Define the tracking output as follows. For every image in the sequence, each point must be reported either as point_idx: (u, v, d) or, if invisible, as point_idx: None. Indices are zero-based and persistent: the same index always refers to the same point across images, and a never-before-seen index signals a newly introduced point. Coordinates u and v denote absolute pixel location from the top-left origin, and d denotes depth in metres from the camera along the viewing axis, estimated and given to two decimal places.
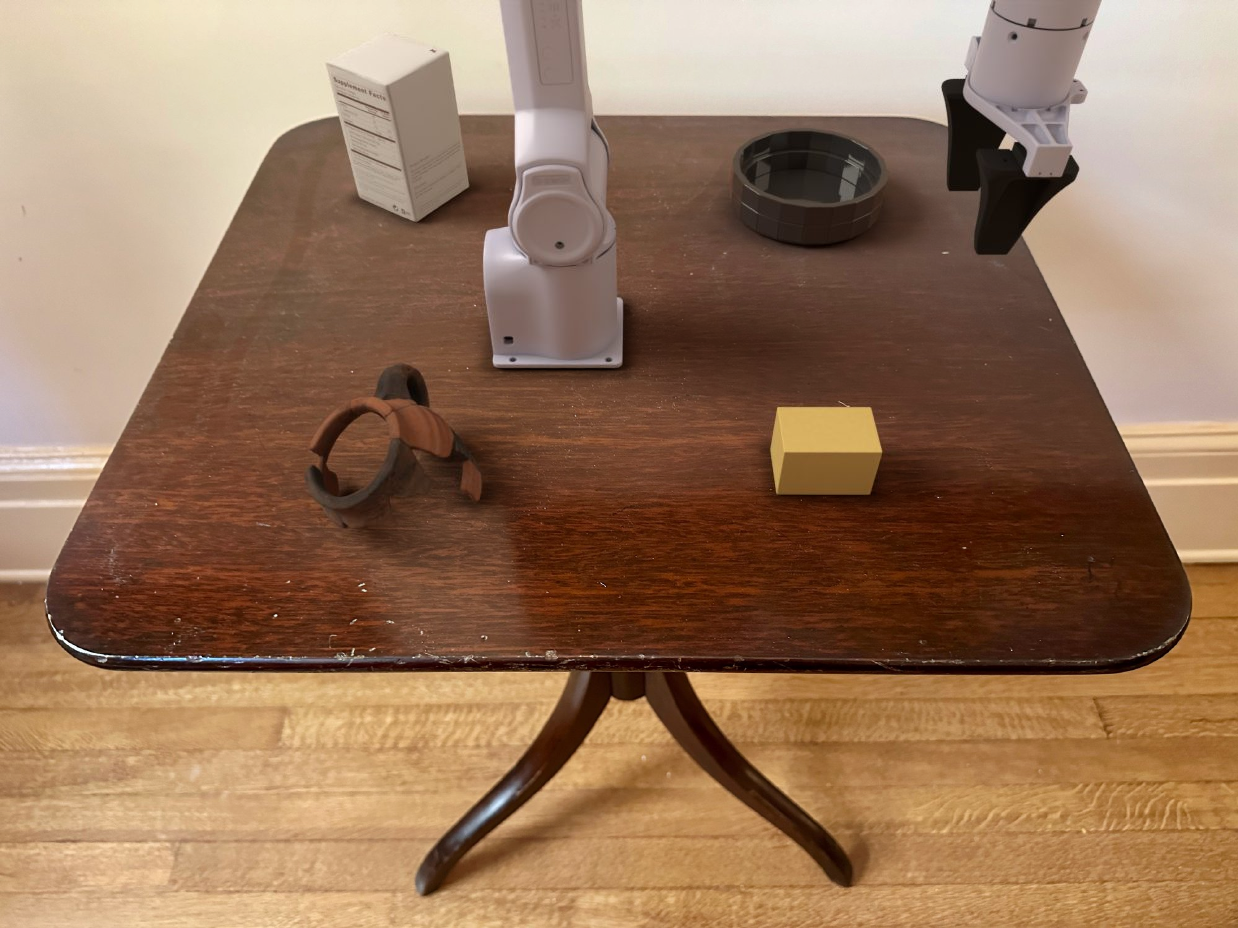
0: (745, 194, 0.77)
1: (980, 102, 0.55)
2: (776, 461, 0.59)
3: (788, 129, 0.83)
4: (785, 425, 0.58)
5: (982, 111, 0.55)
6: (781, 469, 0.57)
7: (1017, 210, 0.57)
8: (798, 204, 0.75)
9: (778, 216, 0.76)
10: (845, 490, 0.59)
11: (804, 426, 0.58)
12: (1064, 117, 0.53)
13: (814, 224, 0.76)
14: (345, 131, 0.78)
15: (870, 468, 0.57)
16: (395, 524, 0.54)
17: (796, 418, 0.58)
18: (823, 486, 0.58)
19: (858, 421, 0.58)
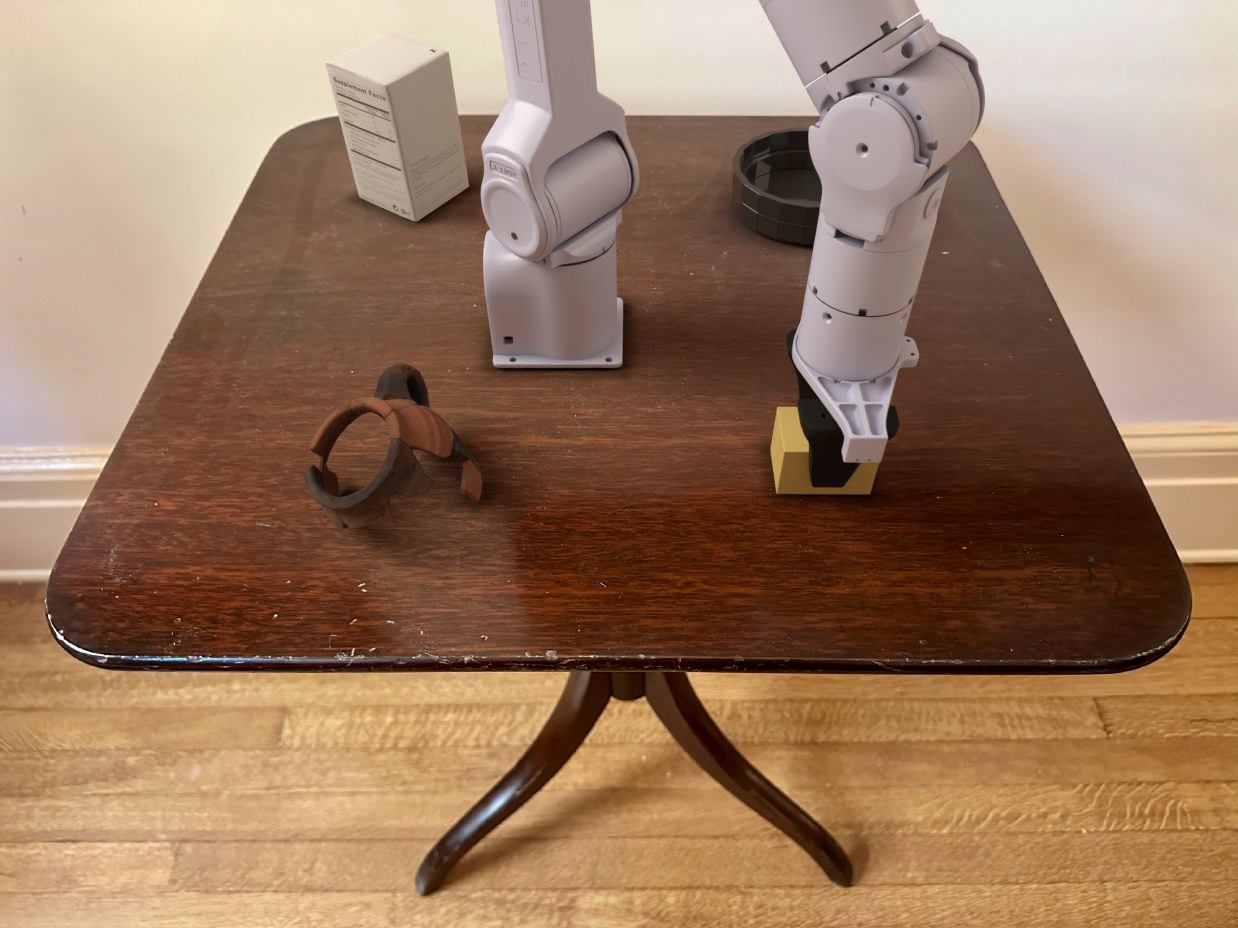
0: (745, 194, 0.77)
1: (804, 369, 0.52)
2: (776, 461, 0.59)
3: (788, 129, 0.83)
4: (785, 425, 0.58)
5: (806, 378, 0.52)
6: (781, 469, 0.57)
7: None
8: (798, 204, 0.75)
9: (778, 216, 0.76)
10: (845, 490, 0.59)
11: None
12: (888, 392, 0.50)
13: (814, 224, 0.76)
14: (345, 131, 0.78)
15: (870, 467, 0.57)
16: (395, 524, 0.54)
17: (796, 418, 0.58)
18: None
19: None
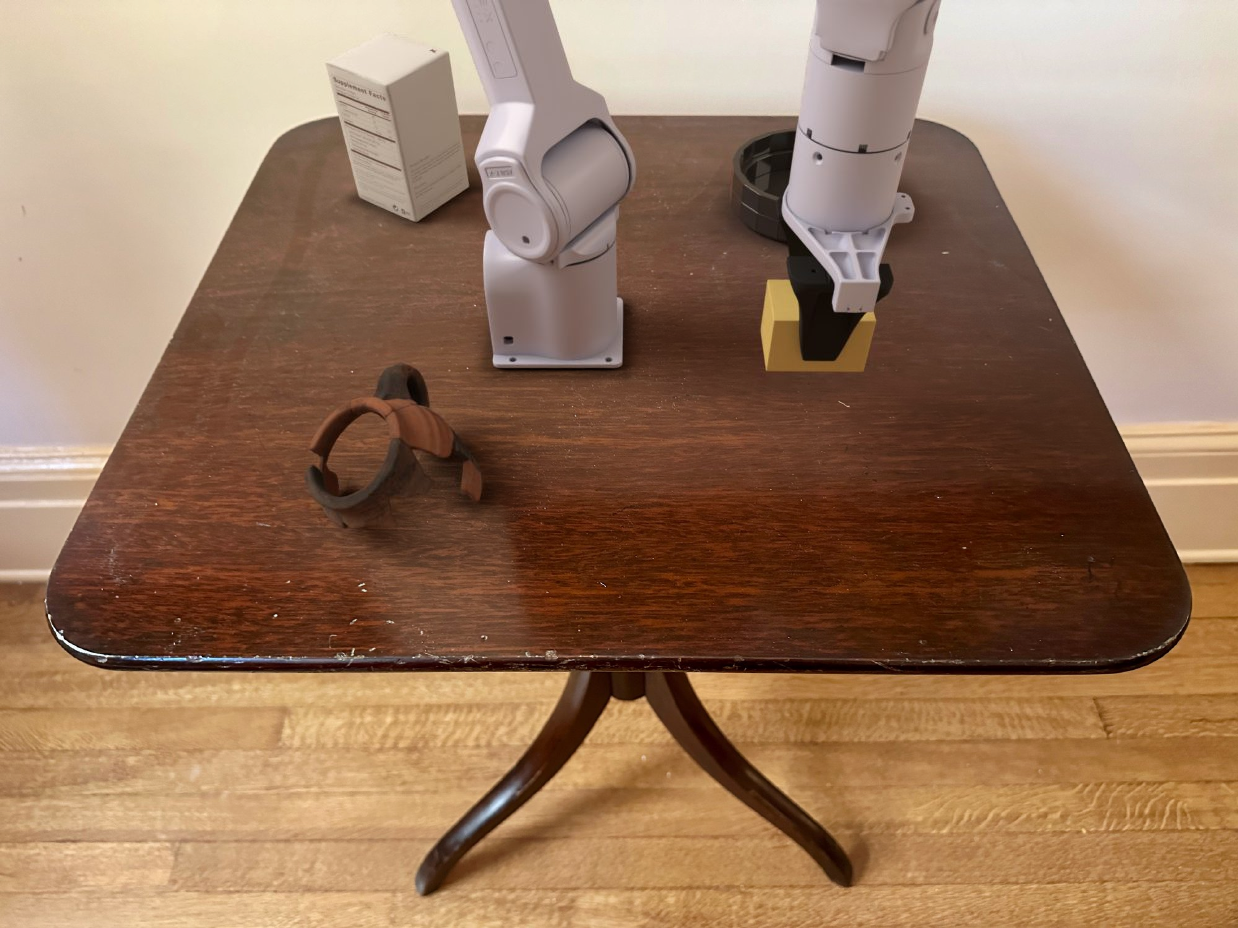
0: (745, 194, 0.77)
1: (794, 222, 0.49)
2: (766, 337, 0.57)
3: (788, 129, 0.83)
4: (775, 296, 0.55)
5: (796, 232, 0.49)
6: (771, 341, 0.55)
7: (838, 318, 0.53)
8: None
9: None
10: (838, 367, 0.56)
11: (795, 297, 0.55)
12: (881, 242, 0.48)
13: None
14: (345, 131, 0.78)
15: (863, 340, 0.55)
16: (395, 524, 0.54)
17: (787, 290, 0.56)
18: (815, 361, 0.56)
19: None
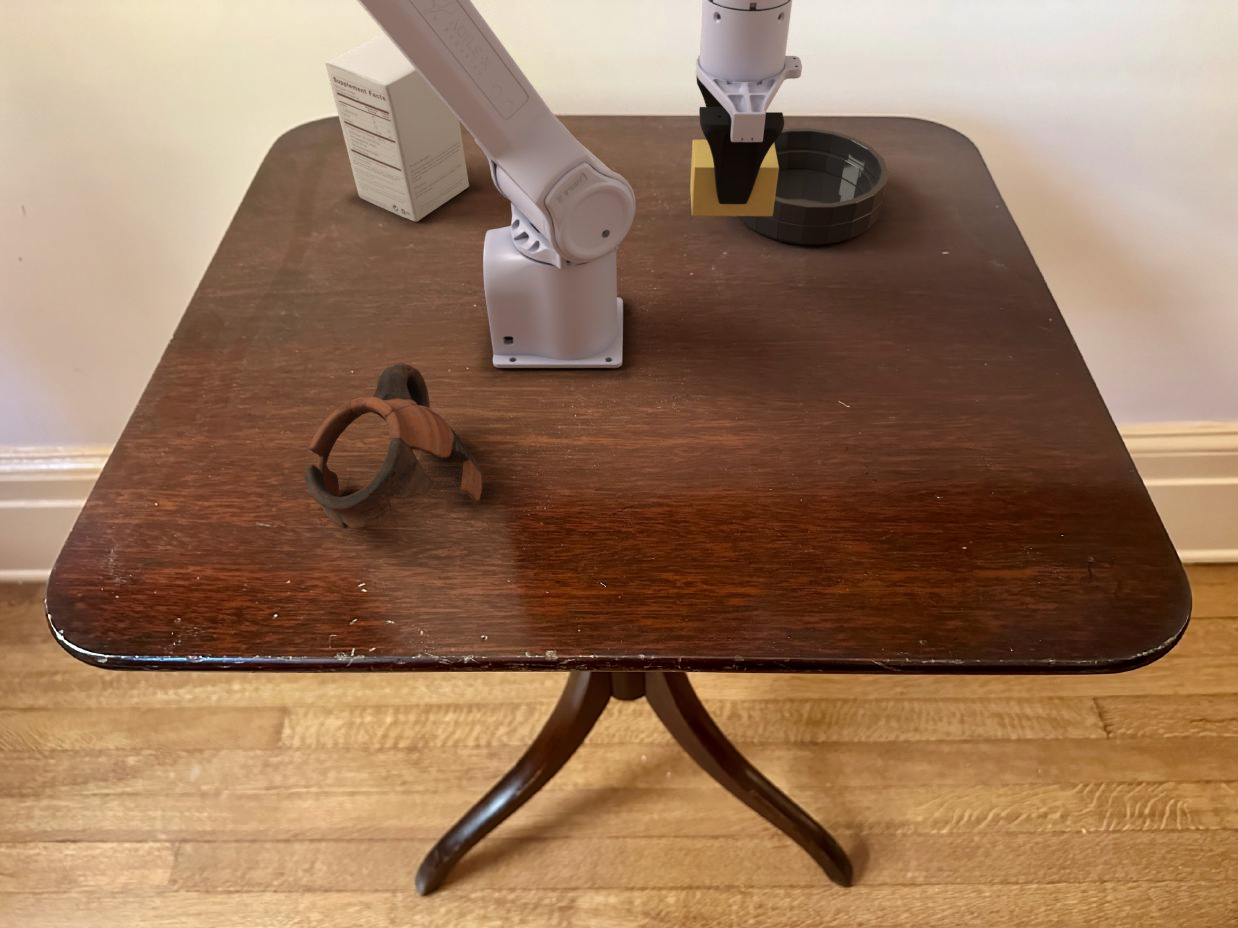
0: None
1: (703, 76, 0.61)
2: None
3: (788, 129, 0.83)
4: (697, 151, 0.67)
5: (705, 84, 0.61)
6: (693, 187, 0.67)
7: (744, 162, 0.64)
8: (798, 204, 0.75)
9: (778, 216, 0.76)
10: (751, 211, 0.68)
11: None
12: None
13: (814, 224, 0.76)
14: (345, 131, 0.78)
15: (770, 185, 0.66)
16: (395, 524, 0.54)
17: (708, 146, 0.67)
18: (731, 206, 0.68)
19: None
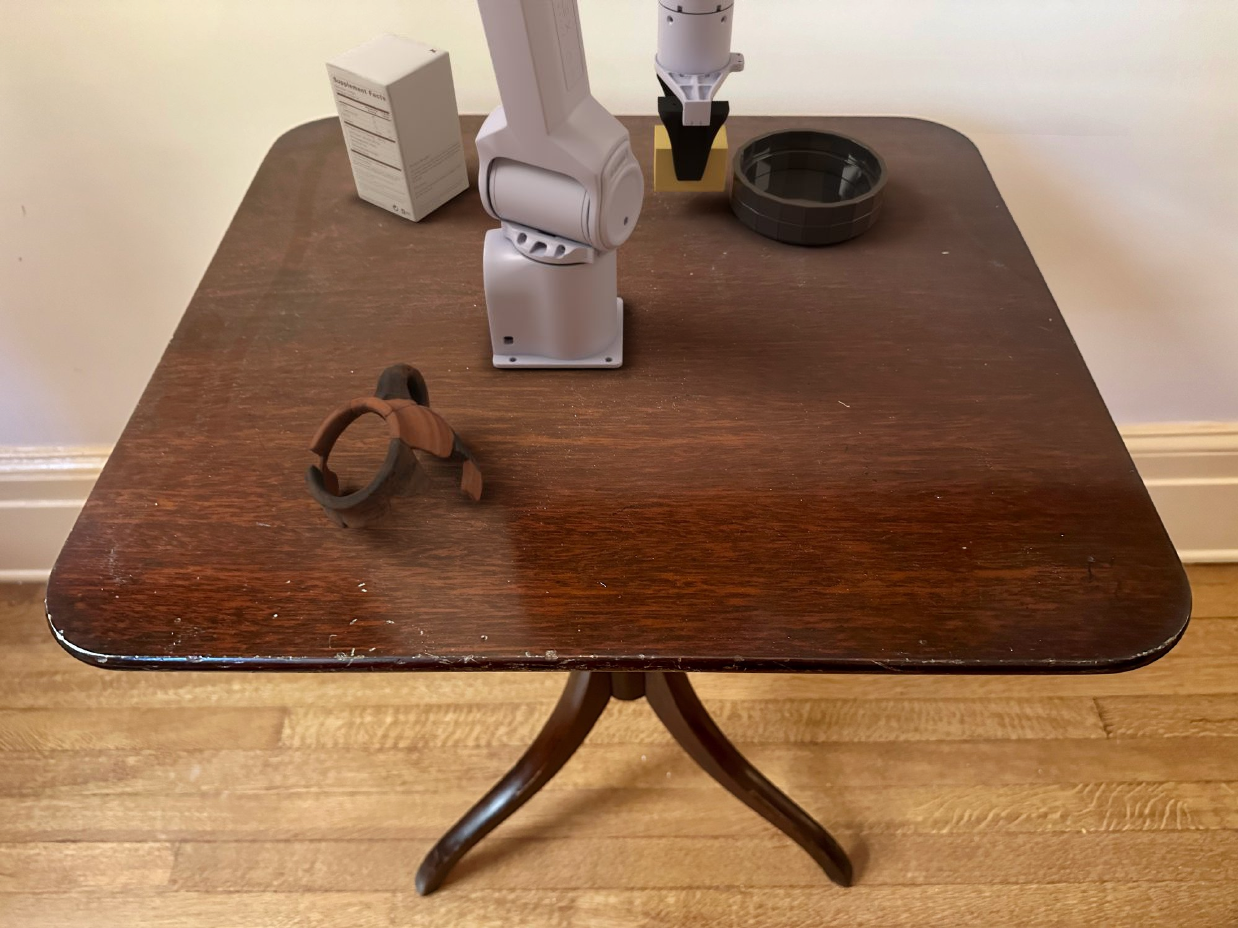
0: (745, 194, 0.77)
1: (660, 70, 0.71)
2: None
3: (788, 129, 0.83)
4: (658, 134, 0.78)
5: (661, 77, 0.72)
6: (655, 166, 0.77)
7: (697, 144, 0.75)
8: (798, 204, 0.75)
9: (778, 216, 0.76)
10: (705, 187, 0.79)
11: None
12: None
13: (814, 224, 0.76)
14: (345, 131, 0.78)
15: (721, 164, 0.77)
16: (395, 524, 0.54)
17: None
18: (688, 183, 0.78)
19: None
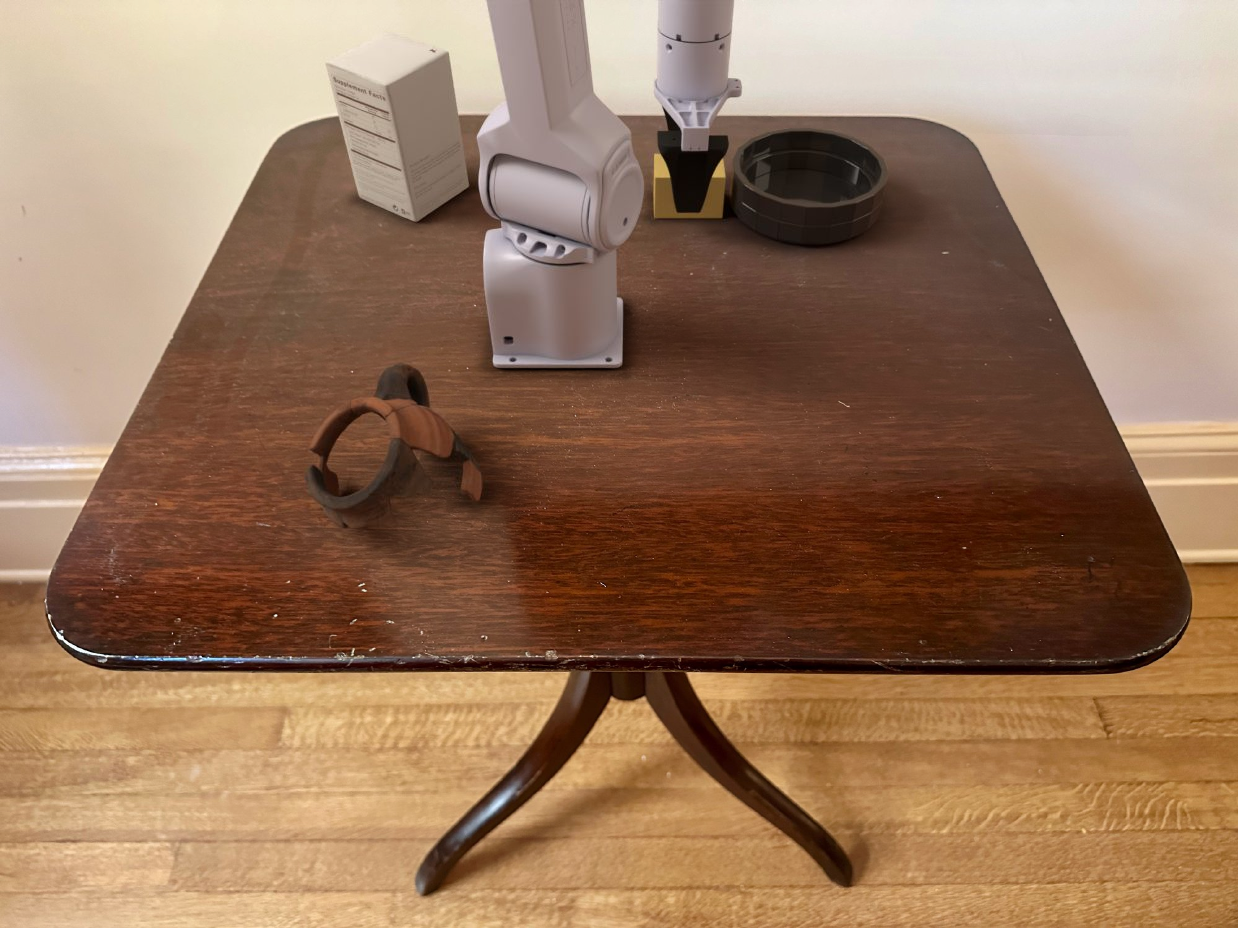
0: (745, 194, 0.77)
1: (659, 96, 0.73)
2: None
3: (788, 129, 0.83)
4: (658, 163, 0.79)
5: (661, 103, 0.73)
6: (655, 194, 0.79)
7: (697, 177, 0.75)
8: (798, 204, 0.75)
9: (778, 216, 0.76)
10: (704, 214, 0.80)
11: None
12: None
13: (814, 224, 0.76)
14: (345, 131, 0.78)
15: (719, 192, 0.79)
16: (395, 524, 0.54)
17: None
18: None
19: None
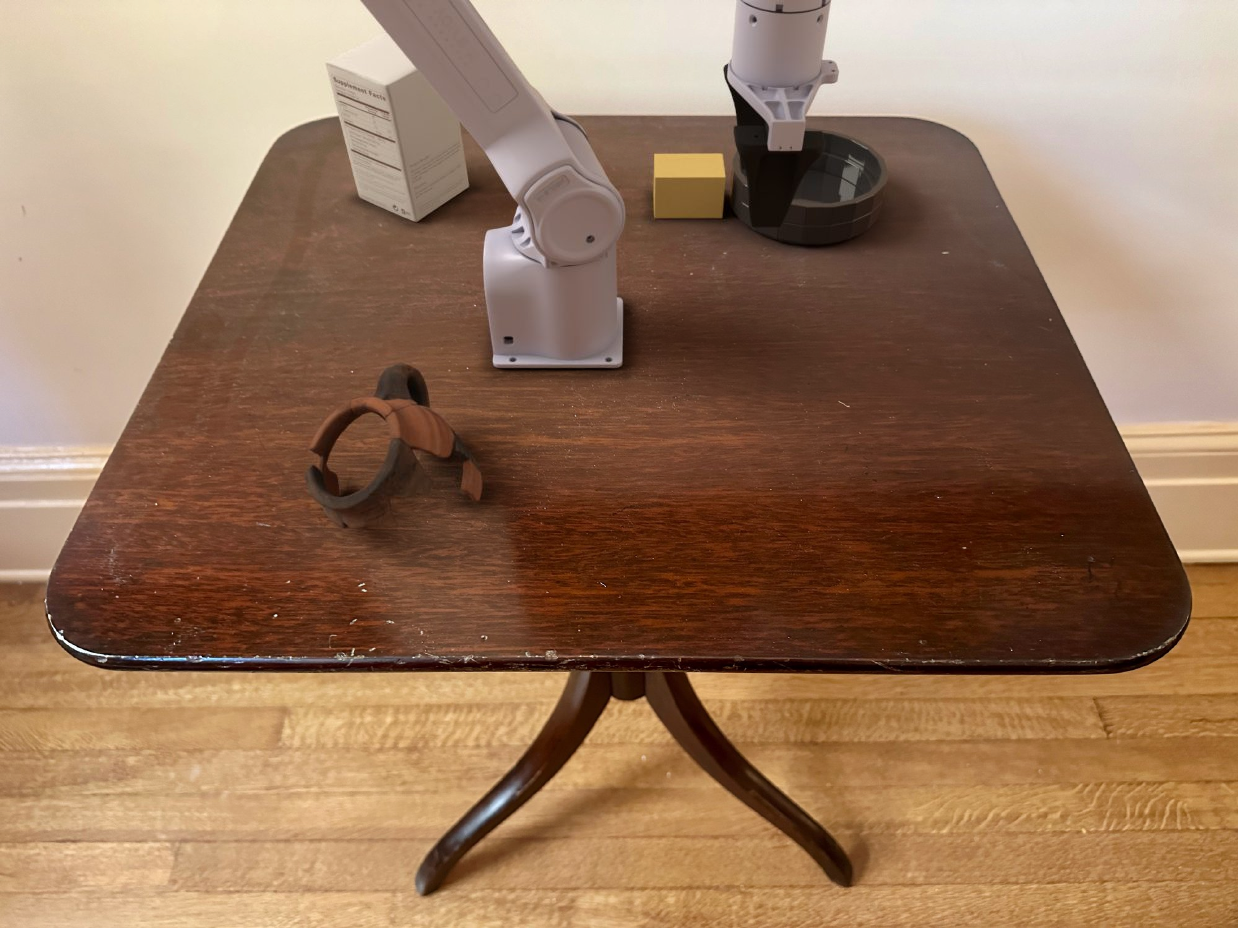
0: (745, 194, 0.77)
1: (736, 82, 0.58)
2: None
3: None
4: (658, 163, 0.79)
5: (738, 90, 0.58)
6: (655, 194, 0.79)
7: (781, 184, 0.60)
8: (798, 204, 0.75)
9: None
10: (704, 214, 0.80)
11: (672, 163, 0.79)
12: (809, 95, 0.57)
13: (814, 224, 0.76)
14: (345, 131, 0.78)
15: (719, 192, 0.79)
16: (395, 524, 0.54)
17: (667, 159, 0.80)
18: (687, 210, 0.80)
19: (711, 161, 0.80)
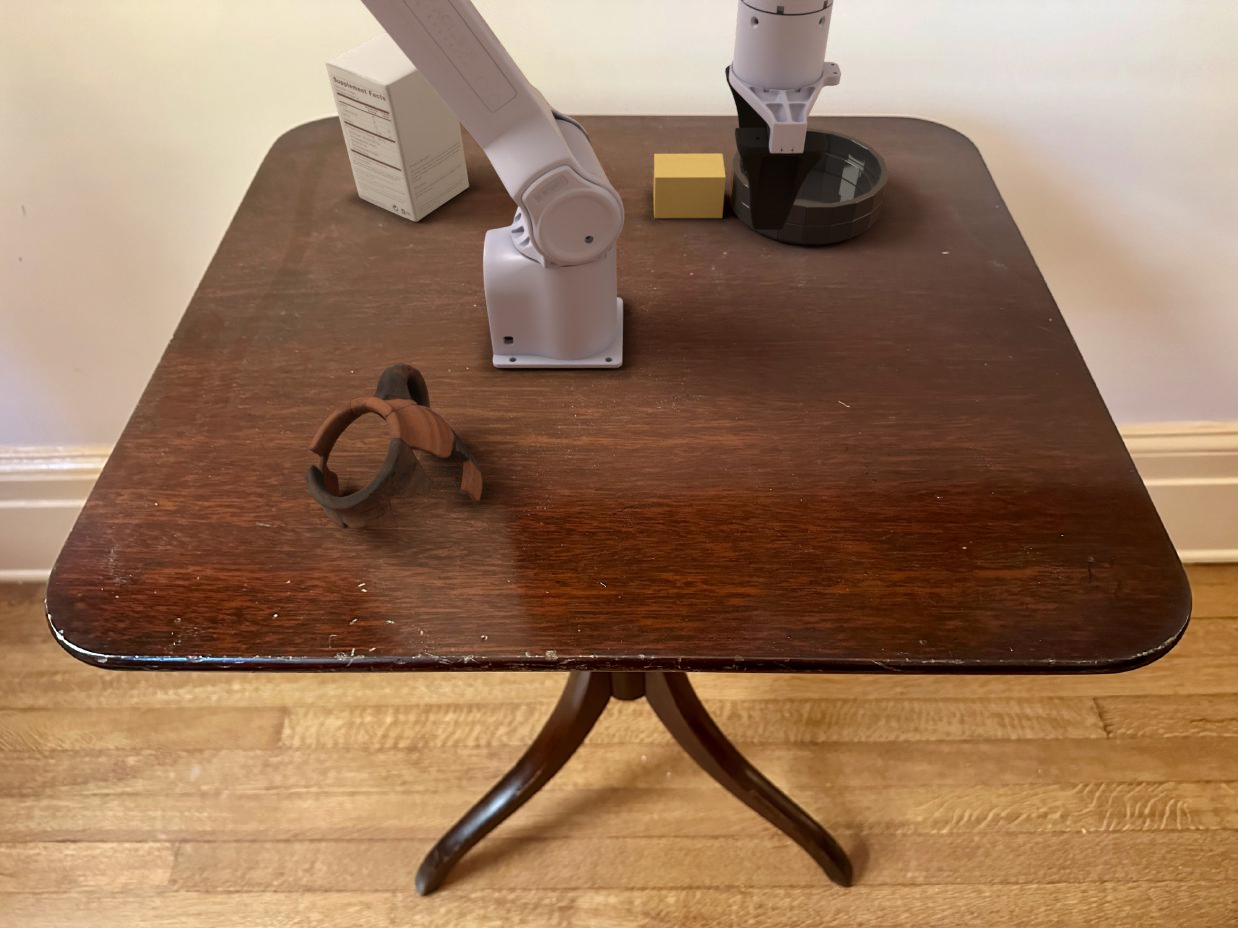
0: (745, 194, 0.77)
1: (738, 84, 0.58)
2: None
3: None
4: (658, 163, 0.79)
5: (739, 92, 0.58)
6: (655, 194, 0.79)
7: (782, 186, 0.60)
8: (798, 204, 0.75)
9: None
10: (704, 214, 0.80)
11: (672, 163, 0.79)
12: None
13: (814, 224, 0.76)
14: (345, 131, 0.78)
15: (719, 192, 0.79)
16: (395, 524, 0.54)
17: (667, 159, 0.80)
18: (687, 210, 0.80)
19: (711, 161, 0.80)
